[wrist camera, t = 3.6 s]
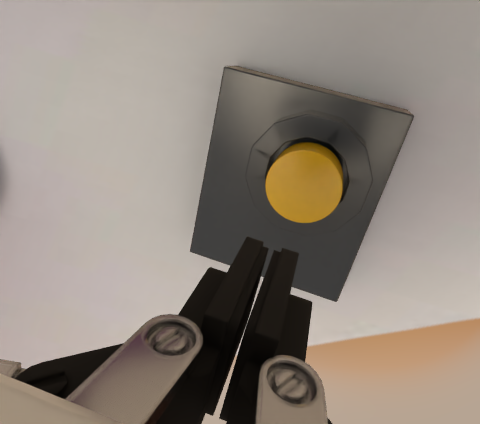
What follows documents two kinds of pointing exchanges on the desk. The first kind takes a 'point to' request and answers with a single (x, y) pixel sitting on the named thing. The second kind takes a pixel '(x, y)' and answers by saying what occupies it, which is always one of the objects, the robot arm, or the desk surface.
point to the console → (264, 155)
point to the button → (305, 182)
